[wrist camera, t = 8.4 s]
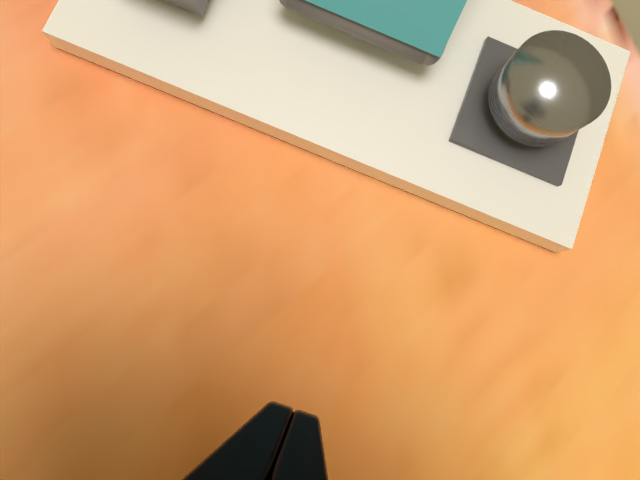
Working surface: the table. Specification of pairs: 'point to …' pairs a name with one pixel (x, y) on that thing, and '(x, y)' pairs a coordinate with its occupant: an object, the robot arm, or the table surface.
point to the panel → (362, 98)
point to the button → (549, 89)
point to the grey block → (191, 5)
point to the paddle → (390, 23)
